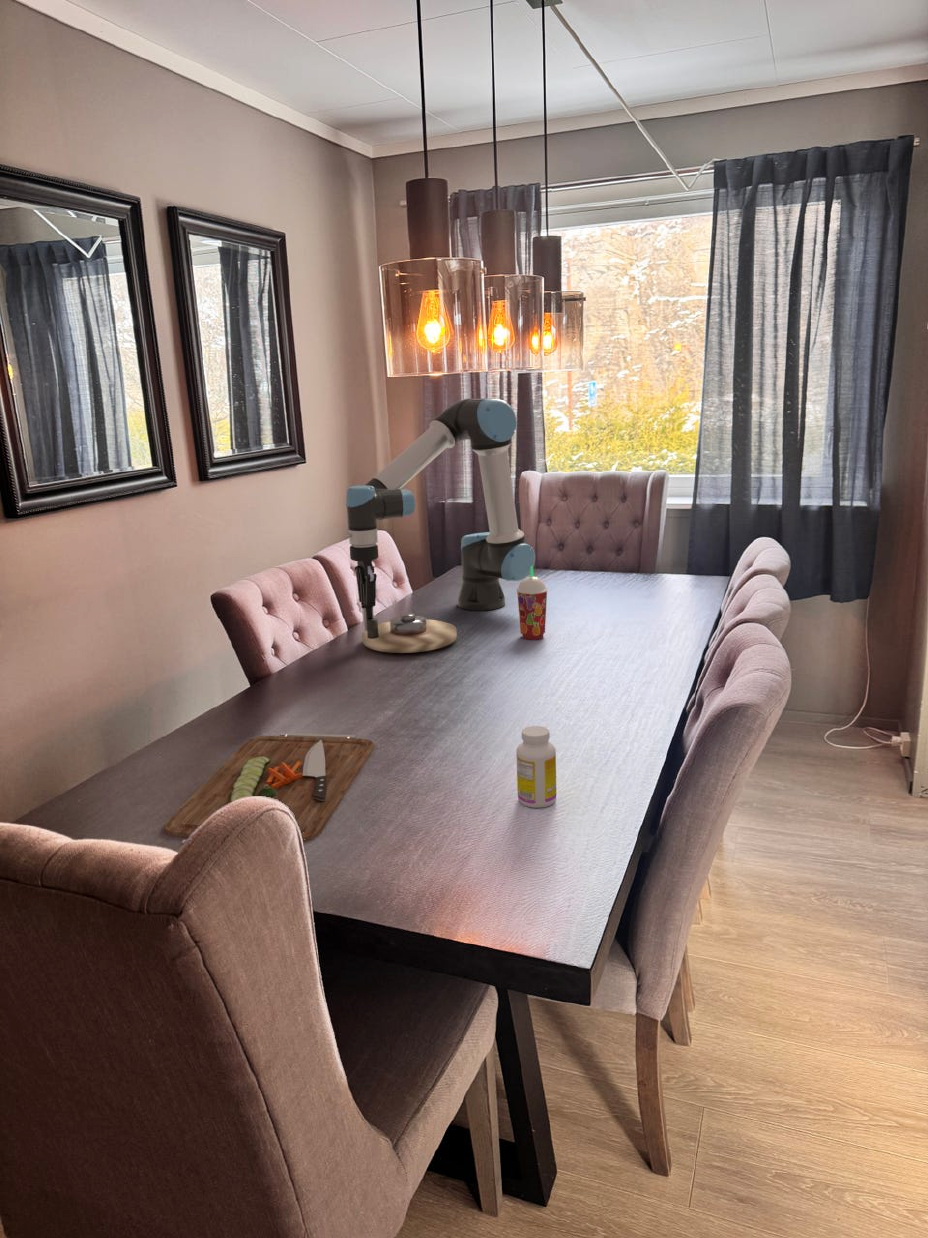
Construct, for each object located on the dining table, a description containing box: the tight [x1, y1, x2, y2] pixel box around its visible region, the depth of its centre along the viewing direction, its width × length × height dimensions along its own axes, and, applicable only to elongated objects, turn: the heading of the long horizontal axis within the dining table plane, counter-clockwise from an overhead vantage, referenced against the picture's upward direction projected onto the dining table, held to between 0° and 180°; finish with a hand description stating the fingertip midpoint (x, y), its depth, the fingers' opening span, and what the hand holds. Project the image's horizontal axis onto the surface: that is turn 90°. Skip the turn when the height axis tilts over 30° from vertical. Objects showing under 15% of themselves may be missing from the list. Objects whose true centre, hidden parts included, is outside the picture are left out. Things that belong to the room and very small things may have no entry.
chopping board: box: [164, 732, 375, 845], centre depth 163 cm, size 45×27×3 cm, turn 171°
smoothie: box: [516, 566, 548, 641], centre depth 245 cm, size 8×8×20 cm
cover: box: [389, 612, 427, 636], centre depth 246 cm, size 10×10×4 cm
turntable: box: [361, 617, 458, 654], centre depth 245 cm, size 26×26×7 cm
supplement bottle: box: [515, 725, 557, 809], centre depth 151 cm, size 7×7×13 cm
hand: (368, 629), depth 243 cm, fingers closed
